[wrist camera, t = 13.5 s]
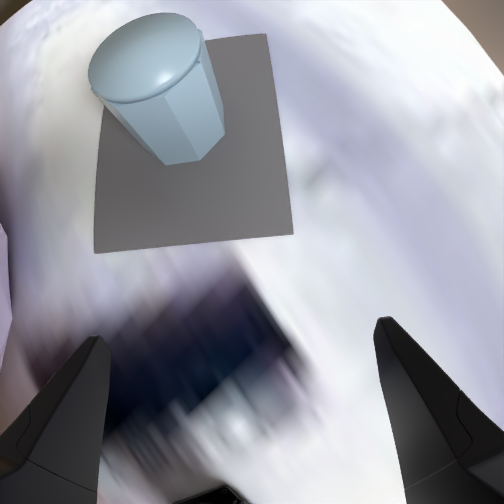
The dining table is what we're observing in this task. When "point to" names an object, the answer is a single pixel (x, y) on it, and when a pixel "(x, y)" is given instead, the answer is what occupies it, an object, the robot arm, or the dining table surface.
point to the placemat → (201, 168)
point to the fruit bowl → (4, 294)
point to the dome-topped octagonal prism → (161, 86)
